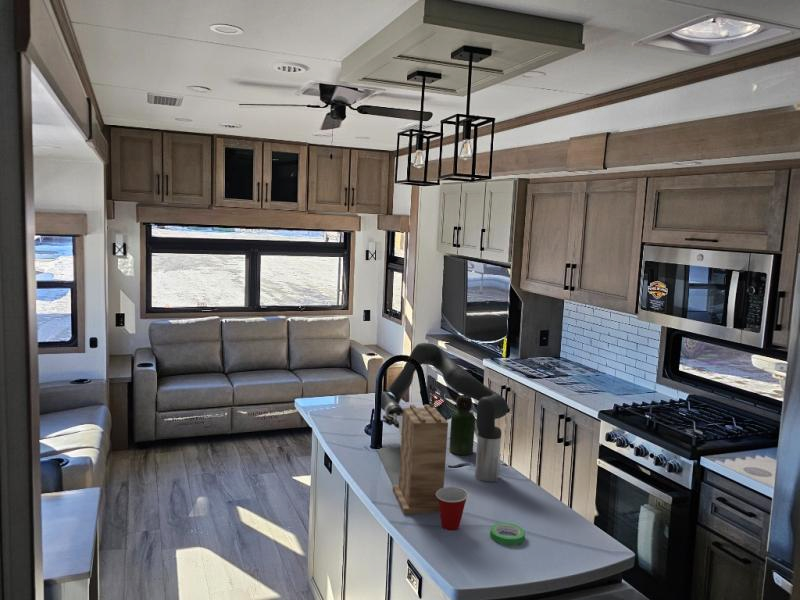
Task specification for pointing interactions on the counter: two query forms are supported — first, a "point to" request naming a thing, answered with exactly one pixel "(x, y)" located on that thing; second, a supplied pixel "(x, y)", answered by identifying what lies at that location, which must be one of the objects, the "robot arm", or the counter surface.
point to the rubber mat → (391, 462)
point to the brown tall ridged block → (421, 460)
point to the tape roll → (507, 539)
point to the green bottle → (462, 427)
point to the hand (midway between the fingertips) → (402, 425)
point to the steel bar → (399, 419)
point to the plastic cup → (451, 506)
